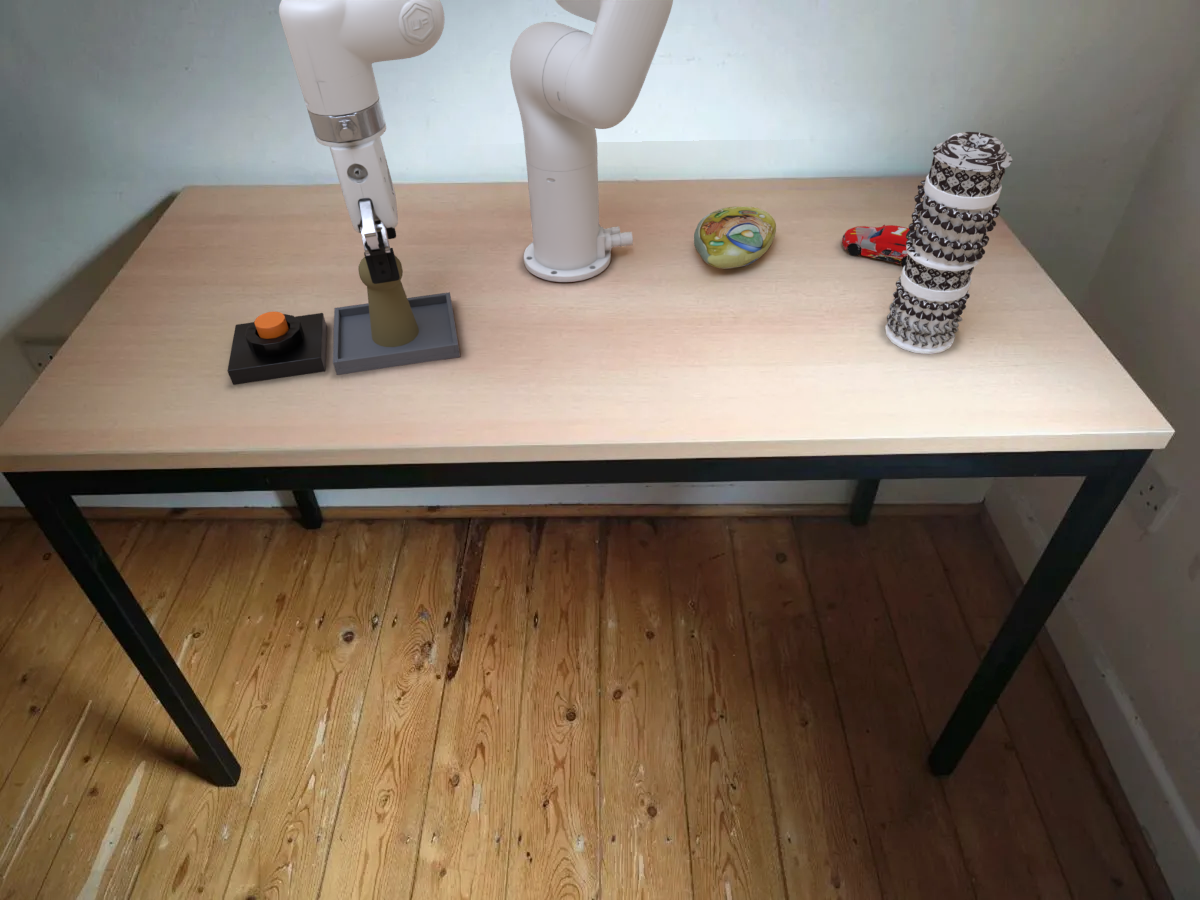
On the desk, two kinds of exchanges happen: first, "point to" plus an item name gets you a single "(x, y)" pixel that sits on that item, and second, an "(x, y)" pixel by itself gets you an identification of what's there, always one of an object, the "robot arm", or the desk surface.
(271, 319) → the button
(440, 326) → the tray
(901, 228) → the race car
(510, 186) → the desk surface
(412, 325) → the olive rounded lobed piece
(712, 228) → the cell model
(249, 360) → the control block
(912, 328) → the black white cylinder
